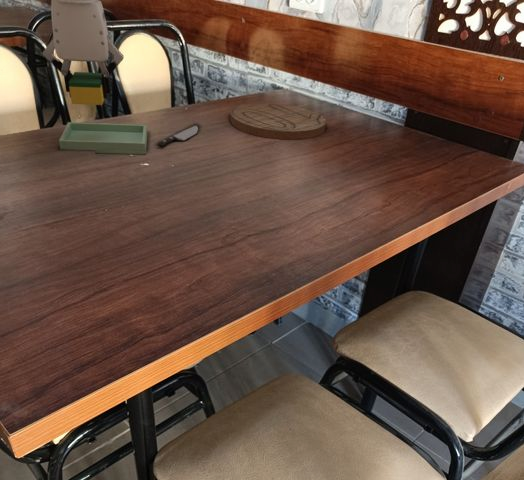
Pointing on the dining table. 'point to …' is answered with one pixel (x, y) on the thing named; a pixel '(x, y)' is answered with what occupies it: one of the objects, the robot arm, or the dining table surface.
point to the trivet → (277, 121)
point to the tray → (105, 138)
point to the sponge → (86, 88)
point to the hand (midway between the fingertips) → (89, 95)
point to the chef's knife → (180, 136)
